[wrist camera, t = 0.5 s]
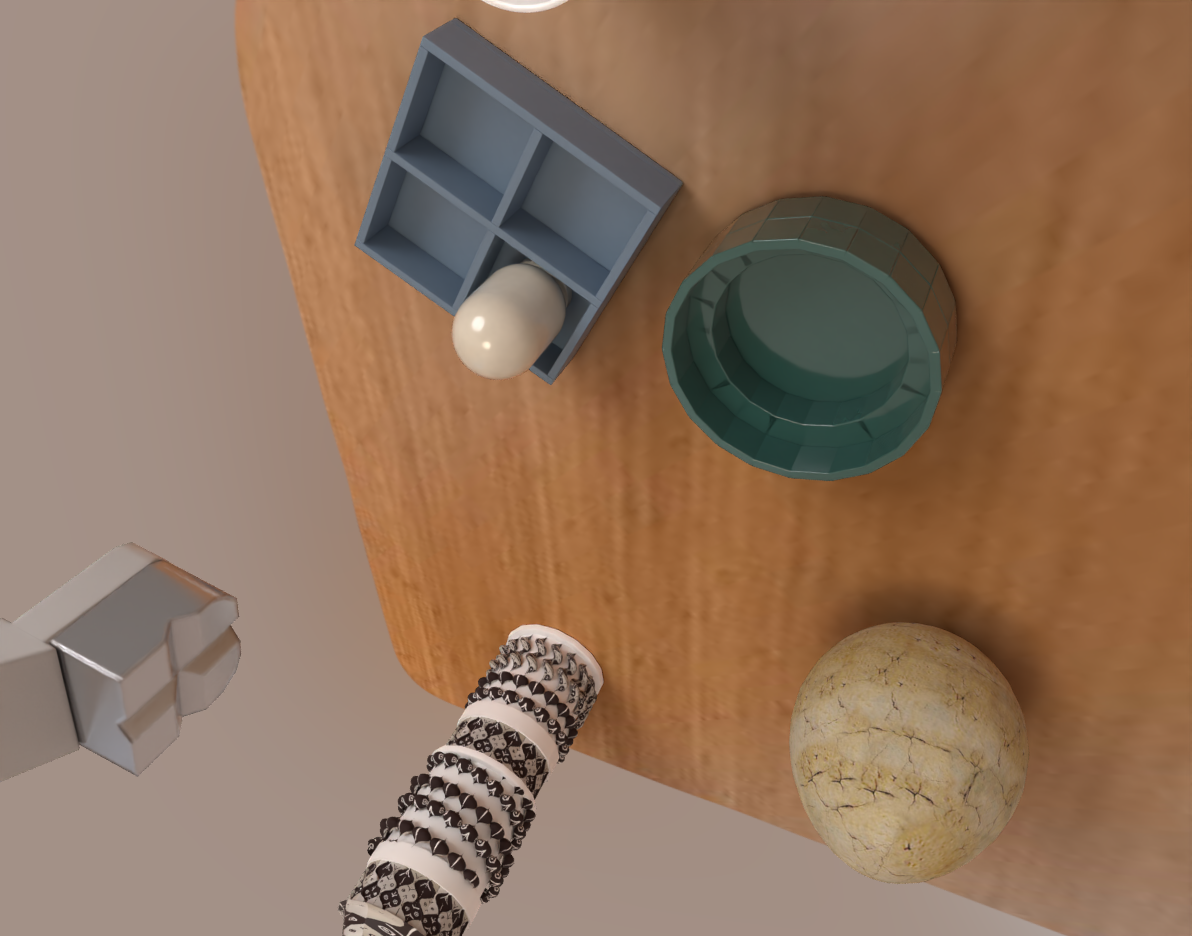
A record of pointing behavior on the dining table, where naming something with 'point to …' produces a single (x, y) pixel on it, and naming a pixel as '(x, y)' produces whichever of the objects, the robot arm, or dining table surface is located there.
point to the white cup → (525, 5)
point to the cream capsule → (510, 320)
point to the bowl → (812, 339)
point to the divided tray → (507, 186)
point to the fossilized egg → (907, 751)
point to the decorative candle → (476, 792)
